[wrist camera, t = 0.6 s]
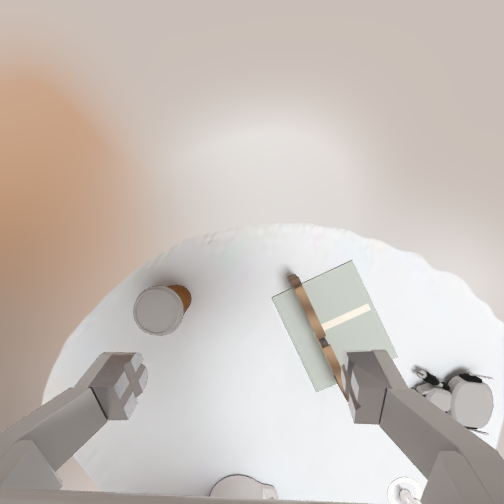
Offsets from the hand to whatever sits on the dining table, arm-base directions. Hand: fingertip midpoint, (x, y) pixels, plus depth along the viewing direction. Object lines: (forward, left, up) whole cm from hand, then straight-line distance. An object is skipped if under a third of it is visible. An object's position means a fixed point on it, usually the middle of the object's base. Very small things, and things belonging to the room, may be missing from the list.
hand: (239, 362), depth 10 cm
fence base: (-25, -6, -46) cm, 53 cm away
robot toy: (-44, -26, -47) cm, 69 cm away
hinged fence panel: (-11, -6, -45) cm, 47 cm away
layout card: (-20, -10, -47) cm, 52 cm away
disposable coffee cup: (+1, +20, -47) cm, 51 cm away
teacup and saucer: (-64, -6, -47) cm, 80 cm away
